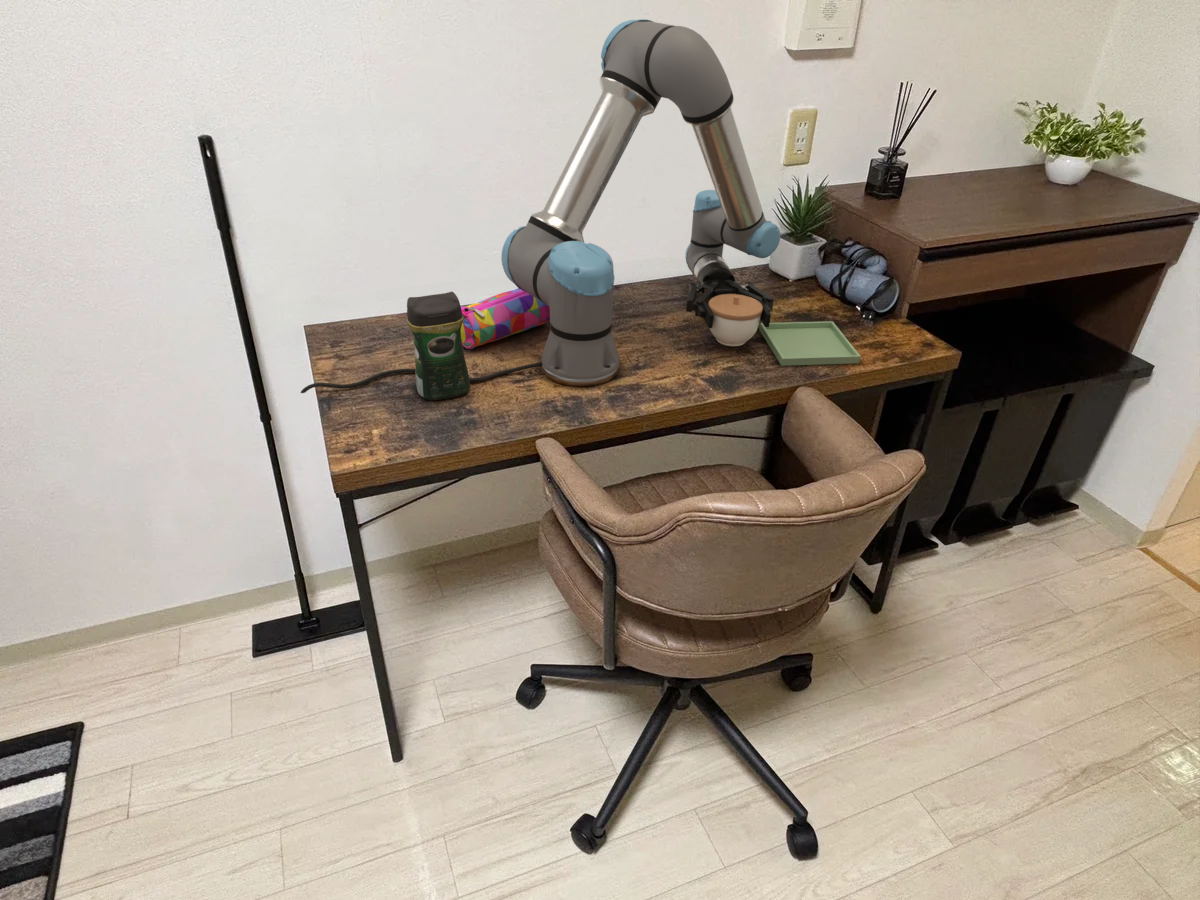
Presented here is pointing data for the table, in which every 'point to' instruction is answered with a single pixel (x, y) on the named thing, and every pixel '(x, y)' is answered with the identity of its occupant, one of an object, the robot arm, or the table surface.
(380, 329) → the table surface
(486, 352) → the table surface
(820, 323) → the tray
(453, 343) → the coffee jar
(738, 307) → the trinket box
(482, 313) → the pencil case
